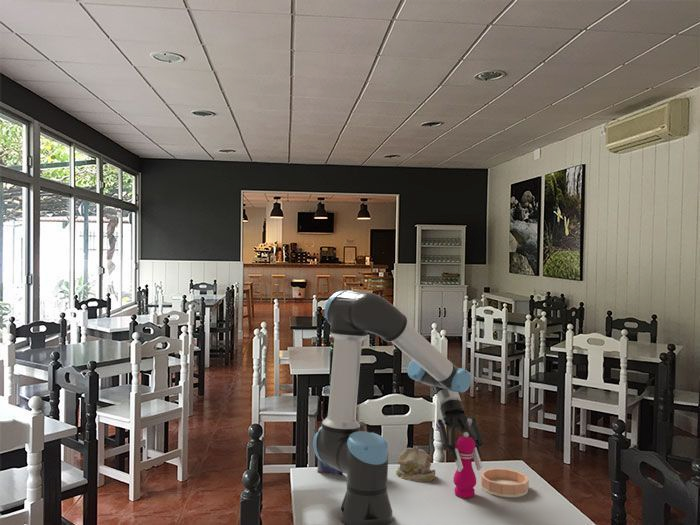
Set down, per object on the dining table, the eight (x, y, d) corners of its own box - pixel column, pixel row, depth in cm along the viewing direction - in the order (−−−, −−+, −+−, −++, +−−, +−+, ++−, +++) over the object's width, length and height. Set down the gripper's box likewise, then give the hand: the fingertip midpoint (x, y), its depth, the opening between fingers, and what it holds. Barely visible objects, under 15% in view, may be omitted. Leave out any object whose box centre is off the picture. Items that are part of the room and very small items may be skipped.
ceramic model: (390, 476, 207) (390, 447, 207) (402, 466, 217) (402, 439, 217) (429, 484, 201) (430, 454, 201) (439, 474, 211) (440, 445, 211)
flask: (316, 472, 209) (317, 441, 209) (319, 469, 212) (320, 439, 212) (341, 476, 206) (342, 444, 206) (344, 473, 209) (345, 442, 209)
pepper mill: (450, 496, 191) (451, 433, 191) (456, 488, 197) (458, 427, 197) (472, 500, 188) (474, 436, 188) (478, 492, 194) (480, 430, 194)
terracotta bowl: (473, 489, 197) (473, 477, 197) (491, 476, 209) (491, 465, 209) (518, 501, 188) (518, 488, 188) (534, 487, 200) (534, 475, 200)
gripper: (472, 409, 210) (493, 472, 194) (421, 411, 205) (438, 476, 189) (479, 397, 204) (501, 461, 189) (427, 399, 200) (446, 465, 184)
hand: (470, 469), depth 189 cm, fingers closed on pepper mill, 6 cm apart
